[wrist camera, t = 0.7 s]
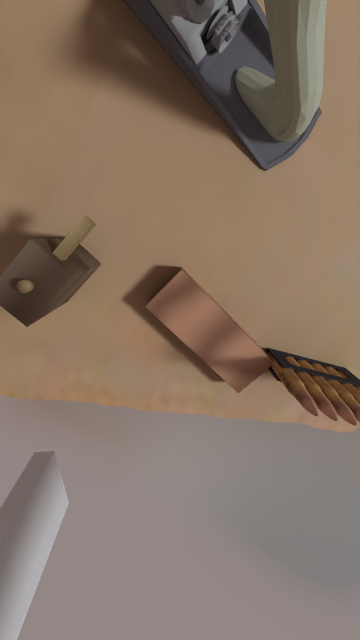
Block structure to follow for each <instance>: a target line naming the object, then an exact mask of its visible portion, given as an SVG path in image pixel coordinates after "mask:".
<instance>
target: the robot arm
mask: <svg viewBox="0 0 360 640" xmlns="http://www.w3.org/2000/svg"><path fill="white" fill-rule="evenodd" d="M67 506H68V499H67V495H66V492H65V488H64V484H63V481H62V477H61V474H60V470H59V467H58V463H57V460H56V456H55V453H54V451H50V452H37V453H34V454H33V456H32V458H31V459H30V461H29V463H28V464H27V466H26V467H25V469H24V471H23V472H22V474H21V476H20V477H19V479H18V480H17V482H16V484H15V485H14V487H13V489H12V490H11V492H10V493H9V495H8V497H7V498H6V500H5V502H4V503H3V505H2V507H1V508H0V640H17V638H18V635H19V633H20V630H21V627H22V625H23V622H24V620H25V617H26V614H27V612H28V609H29V606H30V604H31V601H32V598H33V596H34V593H35V591H36V588H37V585H38V582H39V580H40V577H41V575H42V572H43V569H44V567H45V564H46V561H47V559H48V556H49V554H50V551H51V548H52V546H53V543H54V540H55V538H56V535H57V532H58V530H59V527H60V524H61V522H62V519H63V517H64V514H65V511H66V508H67Z"/></svg>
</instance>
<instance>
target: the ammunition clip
mask: <svg viewBox="0 0 360 640" xmlns="http://www.w3.org/2000/svg"><path fill="white" fill-rule="evenodd" d="M267 351H268V352H267V354H268V356H269V357H270V358H271V360H272V361H273V364H272V366H270V367H269V368H268V369H269V370H270V372H271V373H272V374H273V376H274V377H275V378H276V380H277V381H281V382H282V383H283V384H284V386H285V387H286V388H287V390H288V391H289V392H290V393H291V394H292V395H293V396H294V397H295V398H296V399H297V400H298V401H299V403H300V404H301V405H302V406H303V407H304V408H305V409H306V410H307V411H308V412H310V413H311V414H313V415H314V416H319V411H318V408H319V410H320V411H322V412H323V413H324V414H325V415H326V416H328V417H329V418H331V419H332V420H335V421H338V415H339V416H340V417H341V418H343V419H344V420H345V421H347V422H348V423H350V424H352V425H355V426H356V425H357V421H359V422H360V380H359V379H358V378H357V377H356V376H354V375H353V374H352V373H351V372H350V371H348V370H347V369H346V368H343V367H339V366H335V365H332V364H328V363H324V362H320V361H316V360H312V359H309V358H305V357H301V356H297V355H293V354H289V353H285V352H282V351H278V350H274V349H270V348H267ZM294 358H295V359H294ZM307 361H308V362H307ZM319 364H320V365H319ZM317 407H318V408H317ZM337 414H338V415H337Z"/></svg>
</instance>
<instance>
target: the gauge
mask: <svg viewBox="0 0 360 640" xmlns="http://www.w3.org/2000/svg"><path fill="white" fill-rule="evenodd" d="M95 225H96V224H95V223H94V222H93V221H92V220H91V219H90V218H89V217H88V216H83V217H82V218H81V219H80V221H79V222H78V223H77V224H76V225H75V227H74V228H73V229H72V230H71V231H70V233H69V234H68V235H67V236H66V237H65V238H41V239H30V240H29V241H28V242H27V243H26V245H25V246H24V247H23V248H22V250H21V251H20V252H19V253H18V255H17V256H16V257H15V258H14V259H13V261H12V262H11V263H10V264H9V266H8V267H7V268H6V269H5V271H4V272H3V273H2V274H1V276H0V306H2V307H3V308H4V309H5V310H6V311H8V312H9V313H10V314H11V315H13V316H14V317H15V318H16V319H18V320H19V321H20V322H21V323H23V324H24V325H25V326H26V327H28V326H29V325H31V324H32V323H34V322H36V321H37V320H39V319H40V318H42V317H44V316H45V315H47V314H48V313H50V312H52V311H53V310H55V309H56V308H58V307H60V306H61V305H63V304H64V303H66V302H68V300H69V299H70V298H71V297H72V296H73V295H74V294H75V293H76V292H77V290H78V289H79V288H80V287H81V286H82V285H83V284H84V283H85V282H86V280H87V279H88V278H89V277H90V276H91V275H92V274H93V273H94V272H95V270H96V269H97V268H98V267H99V266H100V265H101V263H100V262H99V261H98V260H96V259H95V258H94V257H93V256H92V255H91V254H90V253H89V252H88V251H87V250H86V249H85V248H84V247H82V246H81V245H80V242H81V241H82V240H83V239H84V238H85V237H86V235H87V234H88V233H89V232H90V231H91V230H92V229H93V227H94V226H95Z"/></svg>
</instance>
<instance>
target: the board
mask: <svg viewBox="0 0 360 640" xmlns="http://www.w3.org/2000/svg"><path fill="white" fill-rule="evenodd" d="M145 307H146V308H147V309H148V310H149V311H150V312H151V313H152V314H153V315H155V316H156V317H157V318H158V319H159V320H160V321H161V322H162V323H163V324H164V325H165V326H166V327H167V328H169V329H170V330H171V331H172V332H173V333H174V334H175V335H176V336H177V337H178V338H179V339H180V340H181V341H183V342H184V343H185V344H186V345H187V346H188V347H189V348H190V349H191V350H192V351H193V352H194V353H196V354H197V355H198V356H199V357H200V358H201V359H202V360H203V361H204V362H205V363H206V364H207V365H208V366H210V367H211V368H212V369H213V370H214V371H215V372H216V373H217V374H218V375H219V376H220V377H221V378H222V379H224V380H225V381H226V382H227V383H228V384H229V385H230V386H231V387H232V388H233V389H234V390H235V391H237V392H238V393H239V392H240V391H242V390H243V389H244V388H245V387H246V386H248V385H249V384H250V383H251V382H252V381H254V380H255V379H256V378H257V377H258V376H260V375H261V374H262V373H263V372H264V371H266V370H267V369H268V368H269V367H270V366H272V364H273V361H272V360H271V358H270V357H269V356H268V354H267V353H266V352H265V351H264V350H263V349H262V348H261V347H260V346H259V345H258V344H257V343H256V342H255V341H254V340H253V339H252V338H251V337H250V336H249V335H248V334H247V333H246V332H245V331H244V330H243V329H242V328H241V327H240V326H239V325H238V324H237V323H236V322H235V321H234V320H233V319H232V318H231V317H230V316H229V315H228V314H227V313H226V312H225V311H224V310H223V309H222V308H221V307H220V306H219V305H218V304H217V303H216V302H215V301H214V300H213V299H212V298H211V297H210V296H209V295H208V294H207V293H206V292H205V290H204V289H203V288H202V287H201V286H200V285H199V284H198V283H197V282H196V281H195V280H194V279H193V278H192V277H191V276H190V275H189V274H188V273H187V272H186V271H185V270H184V269H183V268H182V267H181V268H180V269H179V270H178V271H177V272H176V273H175V274H174V275H173V276H172V277H171V278H170V279H169V280H168V281H167V282H166V283H165V284H164V285H163V286H162V287H161V288H160V289H159V290H158V291H157V292H156V293H155V294H154V295H153V296H152V297H151V298H150V299H149V300H148V301H147V304H146V306H145Z"/></svg>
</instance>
